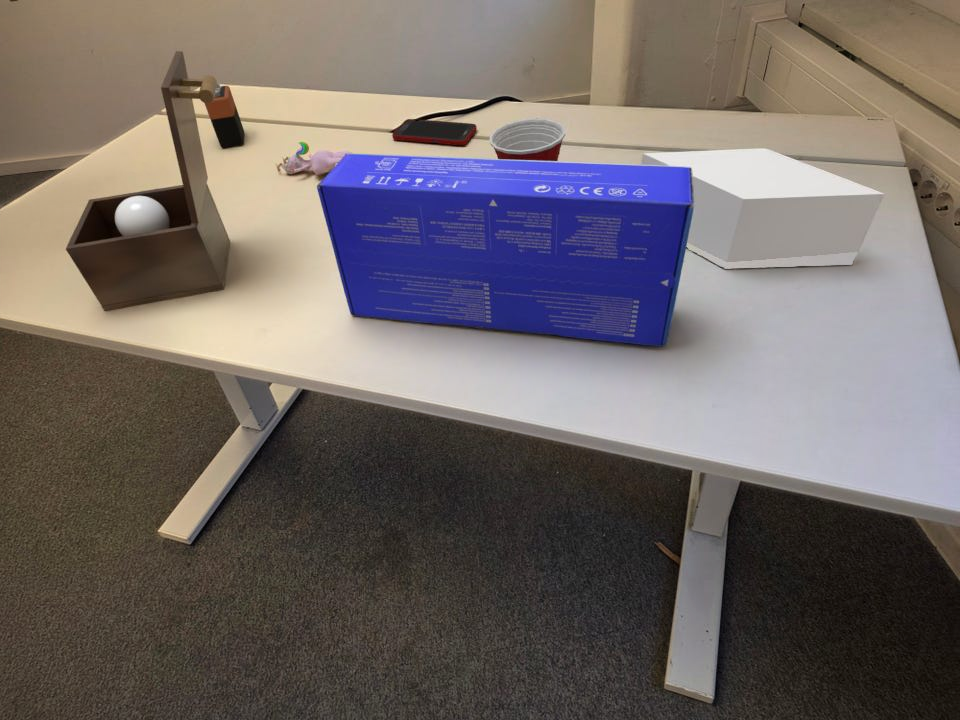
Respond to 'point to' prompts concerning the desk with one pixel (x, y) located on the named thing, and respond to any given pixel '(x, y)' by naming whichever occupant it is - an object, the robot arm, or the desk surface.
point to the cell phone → (435, 132)
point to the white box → (770, 205)
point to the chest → (150, 251)
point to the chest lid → (187, 128)
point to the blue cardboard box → (511, 243)
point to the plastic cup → (528, 140)
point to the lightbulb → (140, 216)
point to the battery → (225, 118)
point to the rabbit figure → (312, 161)
